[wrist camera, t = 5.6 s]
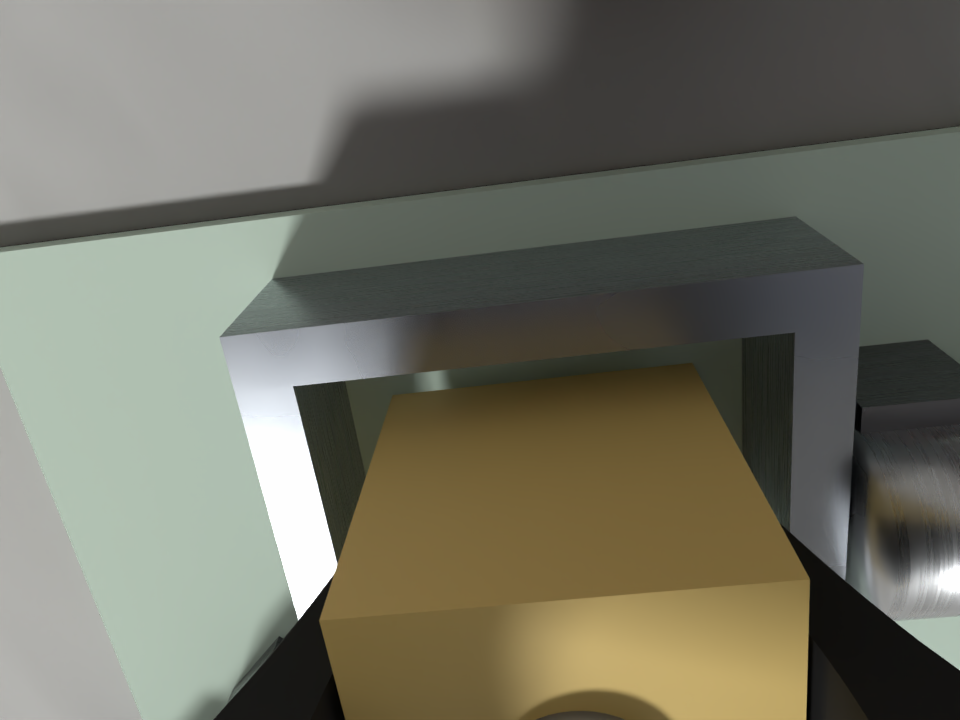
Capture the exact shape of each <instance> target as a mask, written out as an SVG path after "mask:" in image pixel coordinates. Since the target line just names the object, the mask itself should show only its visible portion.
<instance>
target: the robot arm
mask: <svg viewBox="0 0 960 720" xmlns="http://www.w3.org/2000/svg"><path fill="white" fill-rule="evenodd" d="M780 525H781V524H780ZM781 527H782V529H783V530H784V532H785V534H786V536H787V538H788V540H789V542H790V543H791V545H792V547H793V549H794V551H795V553H796V554H797V556H798V558H799V560H800V562H801V564H802V565H803V567H804V569H805V571H806V573H807V575H808V576H809V578H810V598H809V634H808V671H807V708H806V720H960V670H959V669H957V668H956V667H955V666H953V665H952V664H950V663H949V662H948V661H946V660H945V659H944V658H942V657H941V656H939V655H938V654H937V653H935V652H934V651H933V650H931V649H930V648H928V647H927V646H926V645H924V644H923V643H922V642H920V641H919V640H918V639H916V638H915V637H914V636H912V635H911V634H910V633H909V632H907V631H906V630H905V629H903V628H902V627H901V626H900V625H898V624H897V623H896V622H895V621H893V620H892V619H891V618H890V617H889V616H887V615H886V614H885V613H884V612H882V611H881V610H880V609H879V608H877V607H876V606H875V605H874V604H872V603H871V602H870V601H869V600H868V599H866V598H865V597H864V596H863V595H861V594H860V593H859V592H858V591H857V590H856V589H854V588H853V587H852V586H851V585H850V584H848V583H847V582H846V581H845V580H844V579H843V578H841V577H840V576H839V575H838V574H837V573H836V572H835V571H833V570H832V569H831V568H830V567H829V566H828V565H827V564H825V563H824V562H823V561H822V560H821V559H820V558H819V557H817V556H816V555H815V554H814V553H813V552H812V551H811V550H810V549H808V548H807V547H806V546H805V545H804V544H803V543H802V542H801V541H799V540H798V539H797V538H796V537H795V536H794V535H793V534H792V533H790V532H789V531H788V530H787V529H786V528H785V527H784V526H782V525H781ZM333 577H334V575H333V576H332V577H331V579H330V580H329V581H328V582H327V584H326V585H325V586H324V588H323V589H322V590H321V592H320V593H319V594H318V595H317V597H316V598H315V599H314V601H313V602H312V603H311V605H310V606H309V607H308V608H307V610H306V611H305V612H304V614H303V615H302V616H301V617H300V619H299V620H298V621H297V622H296V624H295V625H294V626H293V628H292V629H291V630H290V631H289V632H288V634H287V635H286V636H285V637H284V639H283V640H282V641H281V642H280V643H279V645H278V646H277V647H276V648H275V650H274V651H273V652H272V653H271V654H270V656H269V657H268V658H267V659H266V661H265V662H264V663H263V664H262V665H261V667H260V668H259V669H258V670H257V671H256V672H255V674H254V675H253V676H252V677H251V678H250V679H249V680H248V682H247V683H246V684H245V685H244V686H243V687H242V688H241V689H240V690H239V692H238V693H237V694H236V695H235V696H234V697H233V698H232V699H231V700H230V702H229V703H228V704H227V705H226V706H225V707H224V708H223V709H222V710H221V712H220V713H219V714H218V715H217V716H216V717H215V718H214V719H213V720H345V716H344V713H343V709H342V705H341V701H340V698H339V694H338V690H337V686H336V682H335V679H334V675H333V671H332V667H331V663H330V660H329V656H328V652H327V648H326V645H325V641H324V637H323V633H322V629H321V626H320V622H319V620H320V617H321V613H322V610H323V607H324V604H325V601H326V598H327V595H328V592H329V589H330V586H331V583H332V580H333Z"/></svg>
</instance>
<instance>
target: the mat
mask: <svg viewBox="0 0 960 720" xmlns="http://www.w3.org/2000/svg"><path fill="white" fill-rule="evenodd" d="M794 216H796V217H797V218H799V219H800V220H802V221H803V222H805V223H806V224H807V225H809V226H810V227H812V228H813V229H815V230H816V231H817V232H819V233H820V234H822V235H823V236H825V237H826V238H827V239H829V240H830V241H832V242H833V243H835V244H836V245H838V246H839V247H840V248H842V249H843V250H845V251H846V252H848V253H849V254H850V255H852V256H853V257H855V258H856V259H858V260H859V261H860V262H862V263H863V264H864V273H863V290H862V307H861V323H860V340H859V347H860V346H870V345H879V344H889V343H898V342H908V341H917V340H927V339H928V340H929V341H931V342H932V343H933V344H934V345H936V346H937V347H938V348H940V349H941V350H942V351H944V352H945V353H946V354H947V355H949V356H950V357H951V358H953V359H954V360H955V361H956V362H958V363H959V364H960V126H958V127H950V128H942V129H934V130H926V131H918V132H911V133H903V134H895V135H887V136H879V137H871V138H863V139H855V140H847V141H839V142H831V143H823V144H816V145H808V146H800V147H792V148H784V149H776V150H768V151H760V152H752V153H744V154H736V155H728V156H720V157H713V158H705V159H697V160H689V161H681V162H673V163H665V164H657V165H649V166H641V167H633V168H625V169H617V170H610V171H602V172H594V173H586V174H578V175H570V176H562V177H554V178H546V179H538V180H530V181H522V182H515V183H507V184H499V185H491V186H483V187H475V188H467V189H459V190H451V191H443V192H435V193H427V194H419V195H412V196H404V197H396V198H388V199H380V200H372V201H364V202H356V203H348V204H340V205H332V206H324V207H316V208H309V209H301V210H293V211H285V212H277V213H269V214H261V215H253V216H245V217H237V218H229V219H221V220H214V221H206V222H198V223H190V224H182V225H174V226H166V227H158V228H150V229H142V230H134V231H126V232H118V233H111V234H103V235H95V236H87V237H79V238H71V239H63V240H55V241H47V242H39V243H31V244H23V245H16V246H8V247H0V368H1V370H2V373H3V375H4V378H5V380H6V383H7V385H8V388H9V390H10V393H11V395H12V398H13V400H14V403H15V405H16V408H17V410H18V413H19V415H20V418H21V420H22V422H23V425H24V427H25V430H26V432H27V435H28V437H29V440H30V442H31V445H32V447H33V450H34V452H35V455H36V457H37V460H38V462H39V465H40V467H41V470H42V472H43V475H44V477H45V480H46V482H47V484H48V487H49V489H50V492H51V494H52V497H53V499H54V502H55V504H56V507H57V509H58V512H59V514H60V517H61V519H62V522H63V524H64V527H65V529H66V532H67V534H68V537H69V539H70V542H71V544H72V547H73V549H74V551H75V554H76V556H77V559H78V561H79V564H80V566H81V569H82V571H83V574H84V576H85V579H86V581H87V584H88V586H89V589H90V591H91V594H92V596H93V599H94V601H95V604H96V606H97V609H98V611H99V613H100V616H101V618H102V621H103V623H104V626H105V628H106V631H107V633H108V636H109V638H110V641H111V643H112V646H113V648H114V651H115V653H116V656H117V658H118V661H119V663H120V666H121V668H122V671H123V673H124V675H125V678H126V680H127V683H128V685H129V688H130V690H131V693H132V695H133V698H134V700H135V703H136V705H137V708H138V710H139V713H140V715H141V718H142V720H213V719H214V718H215V717H216V716H217V715H218V714H219V713H220V712H221V710H222V709H223V708H224V707H225V706H226V704H227V702H228V700H229V697H230V695H231V692H232V690H233V689H234V687H235V686H236V685H237V684H238V683H239V682H240V681H241V679H242V678H243V677H244V676H245V675H246V674H247V672H248V671H249V670H250V669H251V668H252V667H253V666H254V664H255V663H256V662H257V661H258V660H259V659H260V657H261V656H262V655H263V654H264V653H265V652H266V651H267V649H268V648H269V647H270V646H271V645H272V644H273V642H274V641H275V640H276V639H277V638H278V637H279V636H280V637H282V638H283V639H284V637H285V636H286V635H287V634H288V632H289V631H290V630H291V629H292V628H293V626H294V625H295V624H296V622H297V621H298V616H297V613H296V609H295V606H294V602H293V598H292V595H291V591H290V588H289V584H288V581H287V577H286V573H285V570H284V566H283V563H282V559H281V556H280V552H279V548H278V545H277V541H276V538H275V534H274V531H273V527H272V524H271V520H270V516H269V513H268V509H267V506H266V502H265V499H264V495H263V491H262V488H261V484H260V481H259V477H258V474H257V470H256V466H255V463H254V459H253V456H252V452H251V449H250V445H249V442H248V438H247V434H246V431H245V427H244V424H243V420H242V417H241V413H240V409H239V406H238V402H237V399H236V395H235V392H234V388H233V384H232V381H231V377H230V374H229V370H228V367H227V363H226V359H225V356H224V352H223V349H222V345H221V342H220V338H219V337H220V336H221V335H222V334H223V333H224V331H225V330H226V329H227V328H228V327H229V326H230V325H231V324H232V323H233V321H234V320H235V319H236V318H237V317H238V316H239V315H240V314H241V313H242V312H243V310H244V309H245V308H246V307H247V306H248V305H249V304H250V303H251V302H252V300H253V299H254V298H255V297H256V296H257V295H258V294H259V293H260V292H261V290H262V289H263V288H264V287H265V286H266V285H267V284H268V283H269V282H270V281H271V279H274V278H283V277H291V276H299V275H308V274H316V273H325V272H333V271H341V270H350V269H358V268H367V267H375V266H383V265H392V264H400V263H408V262H417V261H425V260H434V259H442V258H450V257H459V256H467V255H476V254H484V253H492V252H501V251H509V250H518V249H526V248H534V247H543V246H551V245H559V244H568V243H576V242H585V241H593V240H601V239H610V238H618V237H627V236H635V235H643V234H652V233H660V232H669V231H677V230H685V229H694V228H702V227H710V226H719V225H727V224H736V223H744V222H752V221H761V220H769V219H778V218H786V217H794ZM685 363H693V365H694V367H695V369H696V370H697V372H698V374H699V376H700V378H701V380H702V382H703V383H704V385H705V387H706V389H707V391H708V393H709V394H710V396H711V398H712V400H713V402H714V404H715V405H716V407H717V409H718V411H719V413H720V415H721V416H722V418H723V420H724V422H725V424H726V426H727V427H728V429H729V431H730V433H731V435H732V437H733V439H734V440H735V442H736V444H737V446H738V448H739V450H740V451H741V453H742V338H738V339H729V340H720V341H711V342H701V343H692V344H683V345H673V346H664V347H655V348H645V349H636V350H627V351H617V352H608V353H599V354H590V355H580V356H571V357H562V358H552V359H543V360H534V361H524V362H515V363H506V364H496V365H487V366H478V367H468V368H459V369H450V370H441V371H431V372H422V373H413V374H403V375H394V376H385V377H375V378H366V379H357V380H347V381H345V383H346V388H347V393H348V397H349V402H350V406H351V411H352V415H353V420H354V425H355V429H356V434H357V438H358V443H359V447H360V452H361V457H362V461H363V466H364V470H365V475H367V472H368V469H369V466H370V463H371V460H372V457H373V454H374V450H375V447H376V444H377V441H378V438H379V435H380V432H381V429H382V426H383V423H384V420H385V417H386V414H387V411H388V407H389V404H390V401H391V398H392V395H398V394H407V393H417V392H426V391H435V390H444V389H454V388H463V387H472V386H481V385H491V384H500V383H509V382H518V381H528V380H537V379H546V378H555V377H565V376H574V375H583V374H592V373H602V372H611V371H620V370H629V369H639V368H648V367H657V366H666V365H676V364H685ZM895 622H896V623H897V624H898V625H900V626H901V627H902V628H903V629H905V630H906V631H907V632H909V633H910V634H911V635H912V636H914V637H915V638H916V639H918V640H919V641H920V642H922V643H923V644H924V645H926V646H927V647H928V648H930V649H931V650H933V651H934V652H935V653H937V654H938V655H939V656H941V657H942V658H944V659H945V660H946V661H948V662H949V663H950V664H952V665H953V666H955V667H956V668H957V669H959V670H960V616H957V617H944V618H931V619H918V620H905V621H895Z"/></svg>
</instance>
